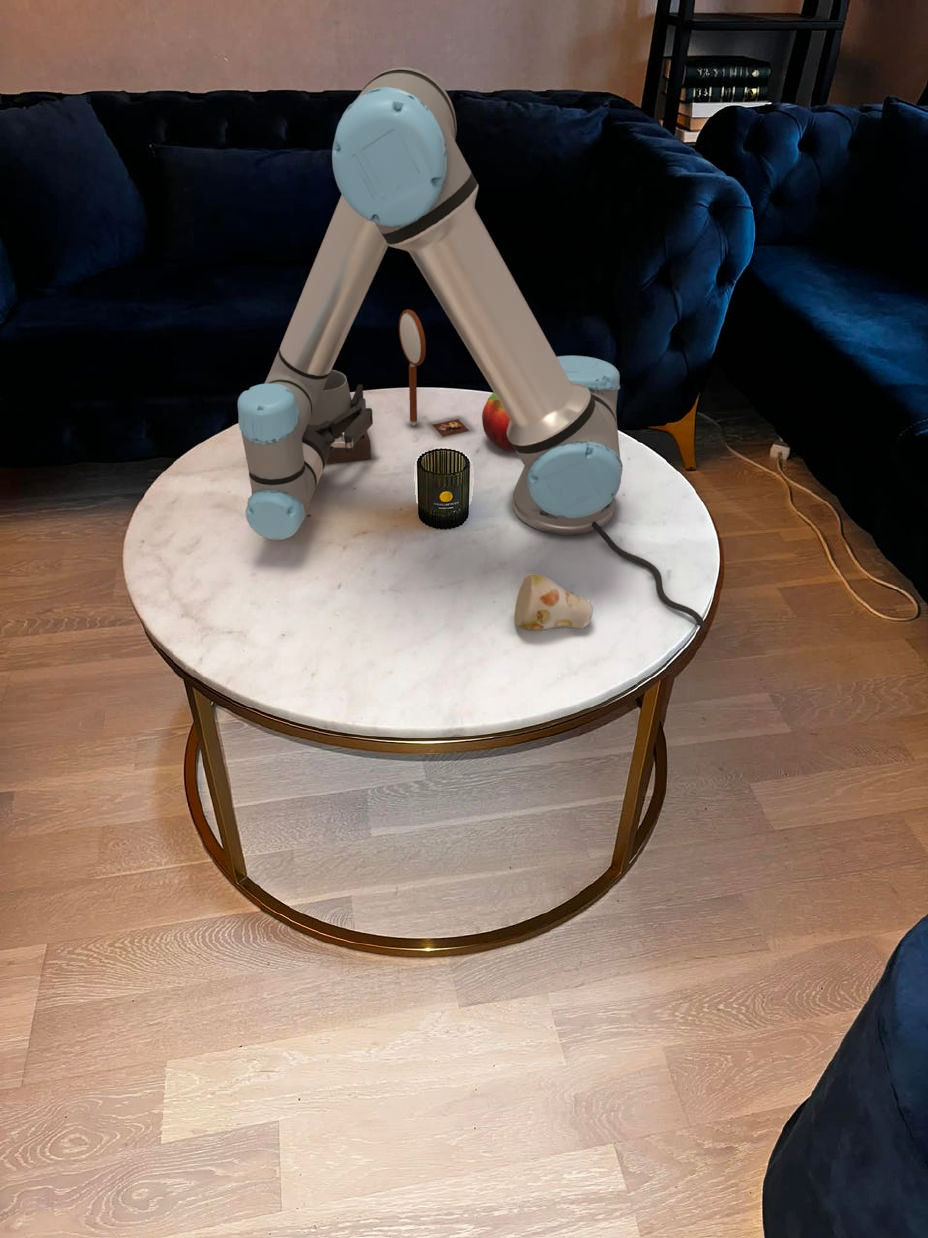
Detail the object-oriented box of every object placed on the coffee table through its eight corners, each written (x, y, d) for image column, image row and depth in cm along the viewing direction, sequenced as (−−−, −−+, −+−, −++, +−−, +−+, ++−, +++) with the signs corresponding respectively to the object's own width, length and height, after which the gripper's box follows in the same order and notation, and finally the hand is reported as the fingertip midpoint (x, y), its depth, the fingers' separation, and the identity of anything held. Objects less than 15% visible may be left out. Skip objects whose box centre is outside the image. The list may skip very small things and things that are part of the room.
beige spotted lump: (599, 643, 119) (570, 599, 112) (529, 657, 123) (497, 616, 116) (599, 595, 124) (571, 550, 116) (531, 611, 128) (500, 568, 120)
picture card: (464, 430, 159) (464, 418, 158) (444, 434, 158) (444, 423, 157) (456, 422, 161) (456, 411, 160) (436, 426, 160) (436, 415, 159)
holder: (371, 458, 152) (370, 439, 149) (295, 467, 149) (293, 448, 147) (358, 422, 161) (357, 403, 158) (286, 429, 158) (284, 411, 156)
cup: (346, 418, 159) (343, 362, 152) (363, 444, 152) (360, 388, 146) (291, 427, 156) (285, 371, 149) (306, 455, 149) (300, 397, 143)
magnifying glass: (398, 415, 163) (395, 302, 150) (407, 413, 163) (405, 300, 150) (419, 438, 157) (418, 322, 144) (429, 436, 157) (428, 320, 144)
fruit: (558, 449, 155) (563, 393, 148) (501, 465, 151) (504, 409, 144) (523, 420, 162) (527, 366, 155) (468, 435, 158) (470, 380, 151)
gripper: (227, 478, 140) (266, 406, 156) (374, 489, 138) (397, 415, 155) (220, 433, 135) (261, 364, 152) (372, 444, 133) (396, 373, 150)
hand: (330, 390), depth 153 cm, fingers closed on cup, 9 cm apart
